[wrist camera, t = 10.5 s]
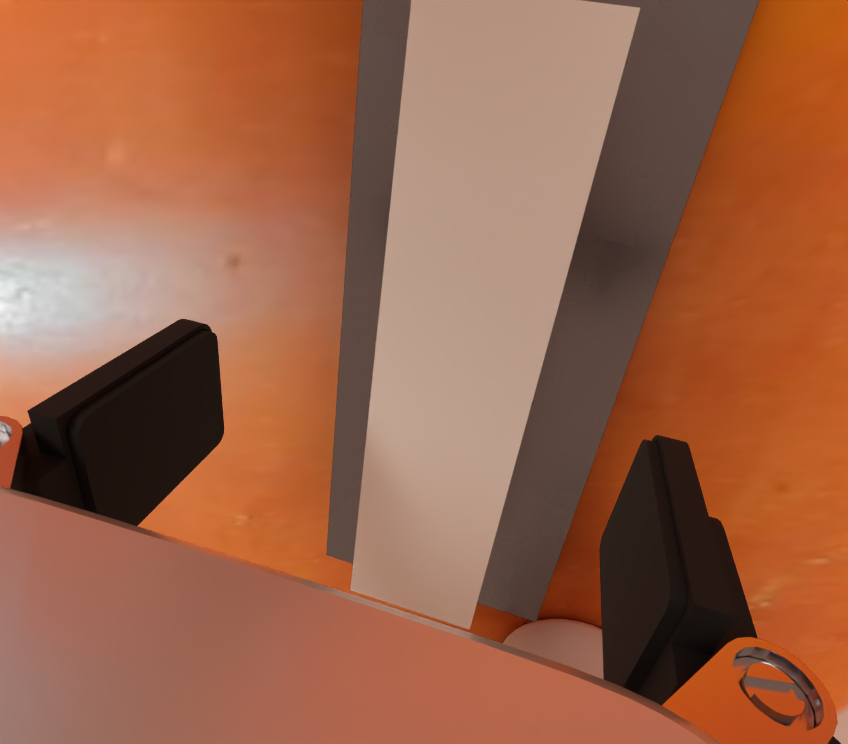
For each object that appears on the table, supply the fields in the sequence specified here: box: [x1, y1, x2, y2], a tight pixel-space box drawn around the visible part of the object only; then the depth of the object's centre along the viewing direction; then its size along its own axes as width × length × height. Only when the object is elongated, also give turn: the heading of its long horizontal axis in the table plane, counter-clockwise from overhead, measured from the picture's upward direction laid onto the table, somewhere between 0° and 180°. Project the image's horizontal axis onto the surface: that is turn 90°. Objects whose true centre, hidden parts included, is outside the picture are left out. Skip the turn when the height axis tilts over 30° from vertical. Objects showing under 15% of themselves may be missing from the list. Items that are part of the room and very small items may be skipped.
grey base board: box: [326, 0, 759, 622], centre depth 20 cm, size 26×10×3 cm, turn 172°
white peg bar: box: [351, 0, 640, 630], centre depth 18 cm, size 18×4×8 cm, turn 172°
